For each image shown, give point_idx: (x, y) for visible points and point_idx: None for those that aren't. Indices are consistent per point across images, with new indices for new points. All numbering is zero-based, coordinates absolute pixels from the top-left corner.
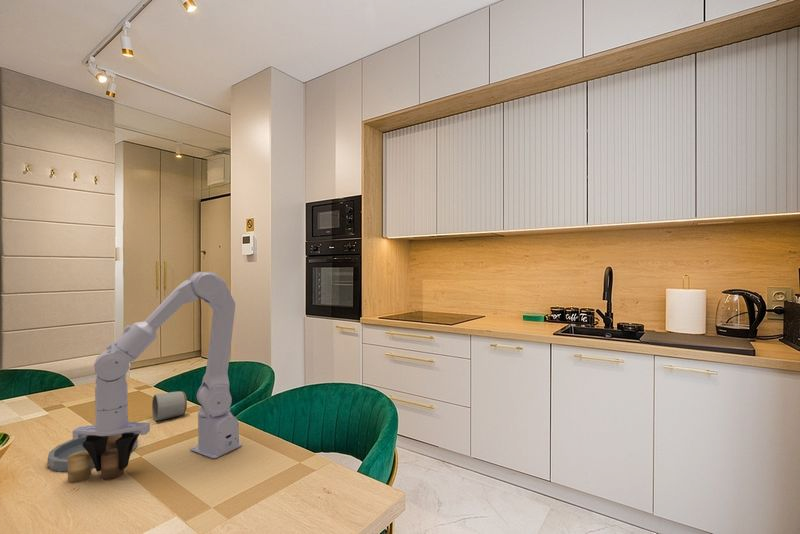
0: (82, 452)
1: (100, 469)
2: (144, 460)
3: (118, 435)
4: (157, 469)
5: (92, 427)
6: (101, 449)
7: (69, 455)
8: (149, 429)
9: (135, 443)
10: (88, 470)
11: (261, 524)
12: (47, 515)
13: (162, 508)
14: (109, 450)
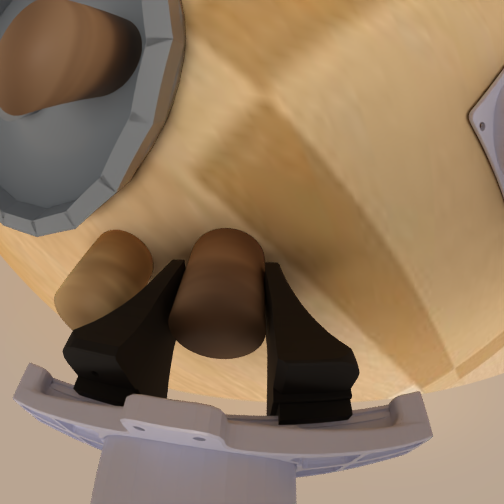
0: (77, 303)
1: None
2: (304, 150)
3: (75, 82)
4: (382, 246)
5: (86, 438)
6: (161, 341)
7: (59, 314)
8: (420, 405)
9: (175, 2)
10: (144, 284)
11: (476, 379)
12: (196, 379)
13: (398, 377)
14: (186, 314)
